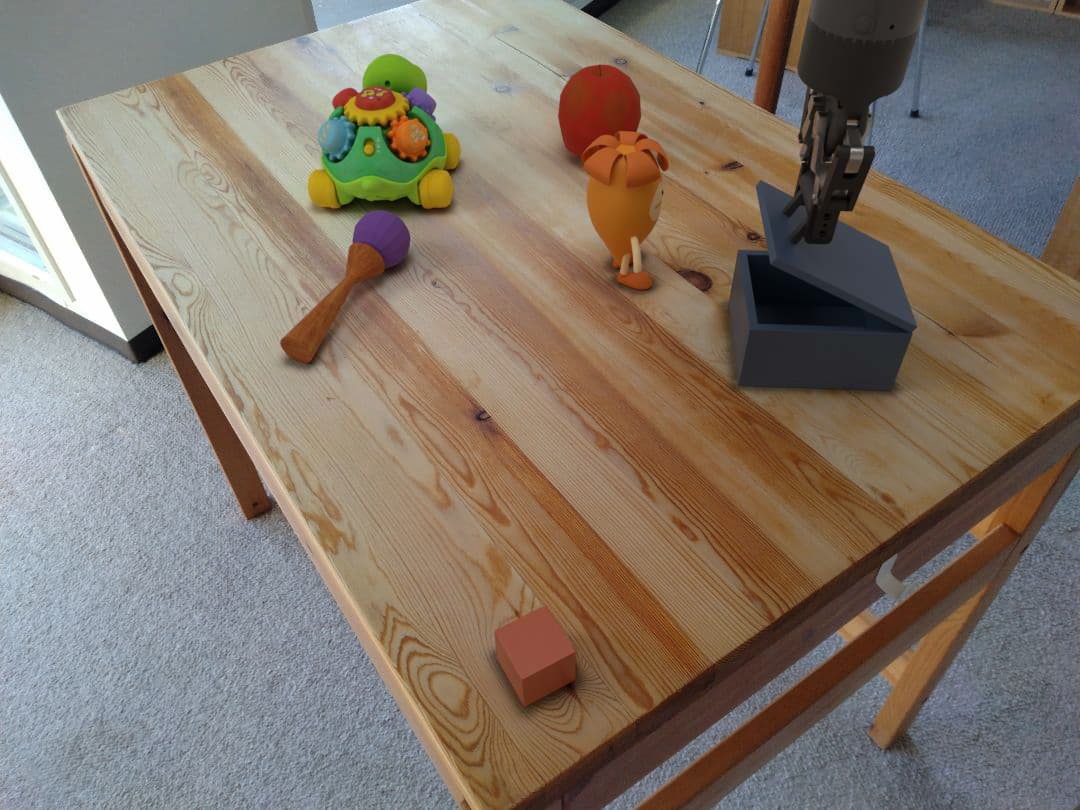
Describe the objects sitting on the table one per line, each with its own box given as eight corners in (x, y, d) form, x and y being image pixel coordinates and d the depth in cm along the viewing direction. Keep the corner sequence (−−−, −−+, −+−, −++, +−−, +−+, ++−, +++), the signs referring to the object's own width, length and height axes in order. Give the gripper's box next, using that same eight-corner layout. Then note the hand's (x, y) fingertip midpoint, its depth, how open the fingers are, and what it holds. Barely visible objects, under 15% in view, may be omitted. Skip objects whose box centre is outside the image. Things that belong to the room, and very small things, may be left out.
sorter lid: (770, 264, 67) (812, 215, 64) (755, 186, 76) (792, 139, 72) (911, 333, 71) (958, 290, 68) (882, 251, 79) (923, 210, 76)
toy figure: (669, 303, 86) (683, 171, 75) (592, 313, 85) (594, 180, 74) (641, 236, 94) (650, 108, 83) (570, 244, 93) (570, 116, 82)
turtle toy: (469, 127, 112) (461, 38, 104) (451, 227, 96) (440, 131, 88) (343, 128, 113) (325, 39, 104) (304, 228, 97) (278, 132, 88)
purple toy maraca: (257, 324, 79) (361, 198, 91) (285, 369, 83) (381, 243, 95) (307, 329, 76) (408, 200, 88) (334, 376, 81) (427, 246, 92)
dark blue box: (738, 386, 77) (749, 329, 72) (728, 305, 85) (737, 249, 80) (891, 391, 76) (913, 334, 71) (866, 309, 84) (884, 252, 80)
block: (575, 679, 58) (576, 651, 55) (524, 707, 57) (521, 680, 54) (547, 633, 60) (546, 604, 58) (497, 659, 59) (493, 630, 56)
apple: (608, 184, 102) (611, 91, 93) (541, 159, 106) (539, 69, 98) (653, 148, 107) (660, 58, 99) (587, 126, 112) (589, 38, 103)
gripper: (947, 59, 54) (874, 275, 66) (896, -23, 64) (841, 178, 76) (827, 57, 54) (776, 272, 66) (795, -25, 64) (756, 175, 76)
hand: (811, 221), depth 71 cm, fingers closed on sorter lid, 5 cm apart
